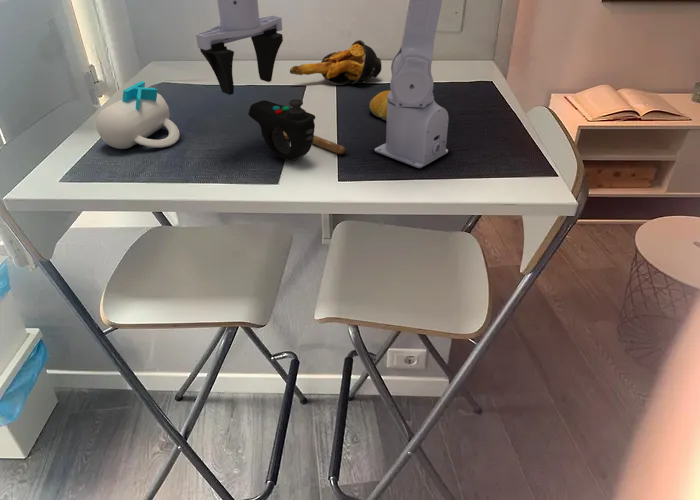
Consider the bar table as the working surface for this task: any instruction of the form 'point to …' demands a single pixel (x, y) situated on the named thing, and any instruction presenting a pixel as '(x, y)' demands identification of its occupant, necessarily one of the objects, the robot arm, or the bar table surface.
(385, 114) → the bread roll
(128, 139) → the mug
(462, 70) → the bar table surface
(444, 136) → the robot arm
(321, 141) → the spoon
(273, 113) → the controller
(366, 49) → the fried shrimp in bowl
